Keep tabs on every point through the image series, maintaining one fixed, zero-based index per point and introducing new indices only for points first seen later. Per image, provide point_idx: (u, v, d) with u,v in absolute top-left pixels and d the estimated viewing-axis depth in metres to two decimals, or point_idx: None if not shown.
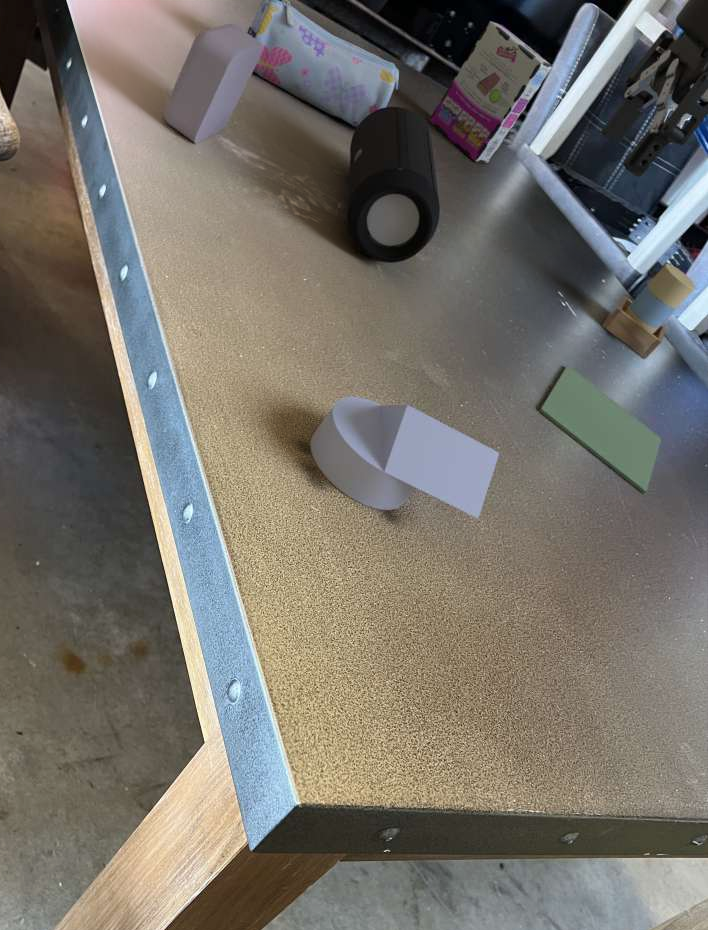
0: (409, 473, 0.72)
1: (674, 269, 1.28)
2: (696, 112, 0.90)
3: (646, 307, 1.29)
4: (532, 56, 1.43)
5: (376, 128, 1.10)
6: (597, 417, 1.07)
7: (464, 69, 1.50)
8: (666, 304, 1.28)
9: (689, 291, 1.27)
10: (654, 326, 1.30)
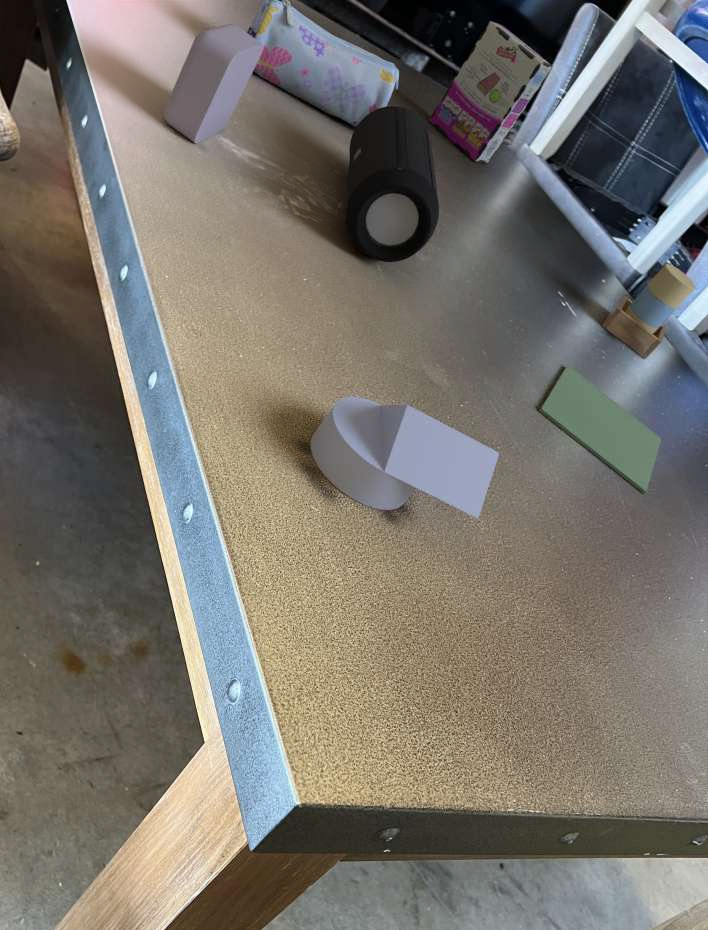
0: (409, 473, 0.72)
1: (674, 269, 1.28)
2: None
3: (646, 307, 1.29)
4: (532, 56, 1.43)
5: (375, 128, 1.10)
6: (597, 417, 1.07)
7: (464, 69, 1.50)
8: (666, 304, 1.28)
9: (689, 291, 1.27)
10: (654, 326, 1.30)
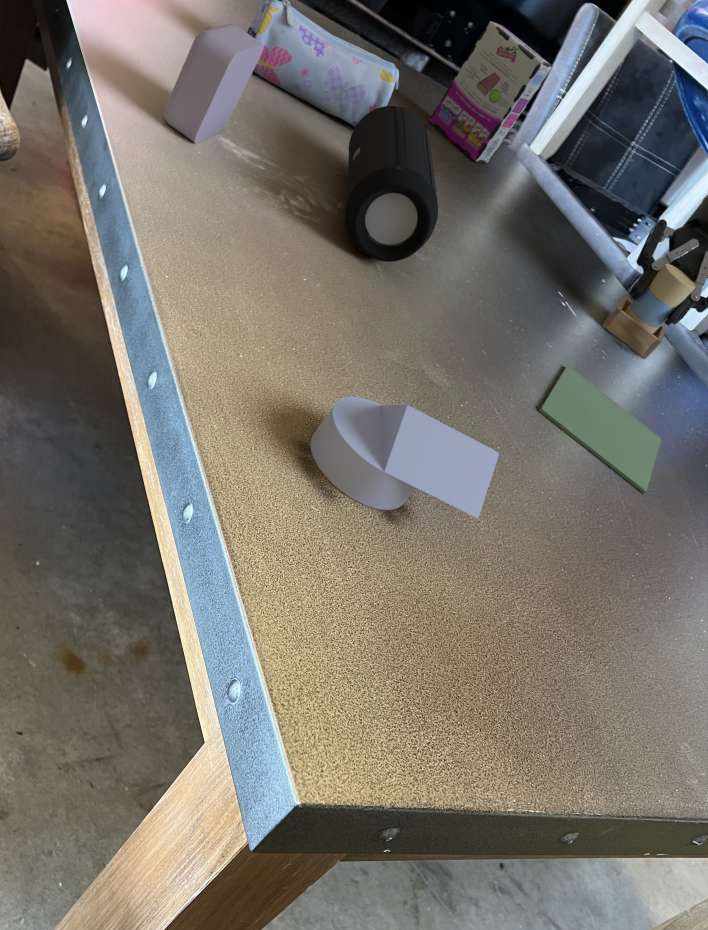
0: (409, 473, 0.72)
1: (674, 269, 1.28)
2: (647, 240, 1.30)
3: (646, 306, 1.29)
4: (532, 56, 1.43)
5: (374, 127, 1.10)
6: (597, 417, 1.07)
7: (464, 69, 1.50)
8: (666, 304, 1.28)
9: (689, 291, 1.27)
10: (654, 326, 1.30)
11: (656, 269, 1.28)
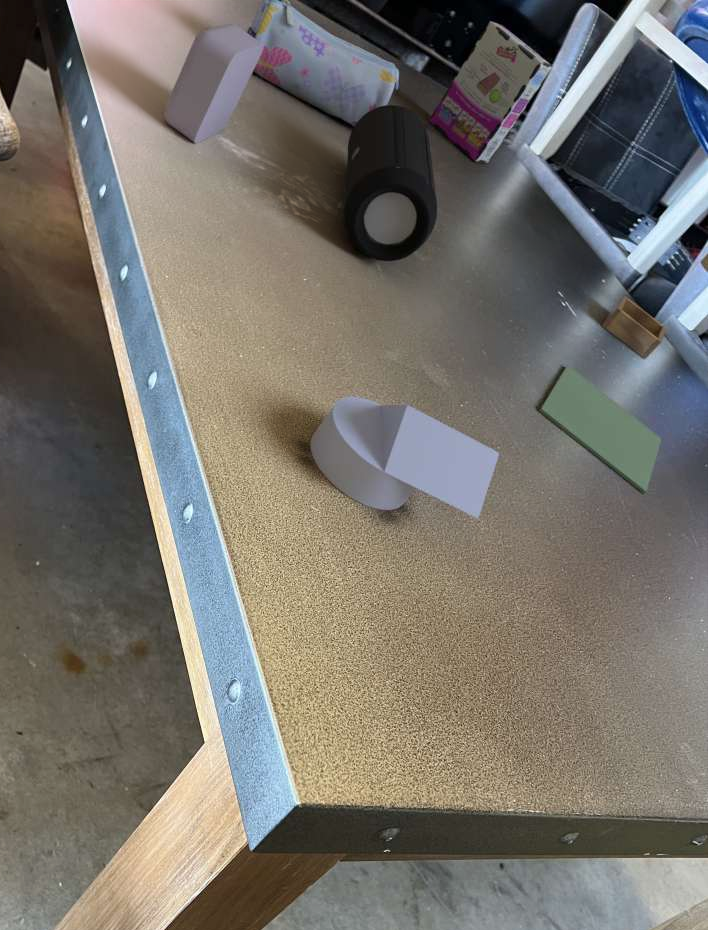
0: (409, 473, 0.72)
1: None
2: None
3: None
4: (532, 56, 1.43)
5: (373, 127, 1.10)
6: (597, 417, 1.07)
7: (464, 69, 1.50)
8: None
9: None
10: None
11: None
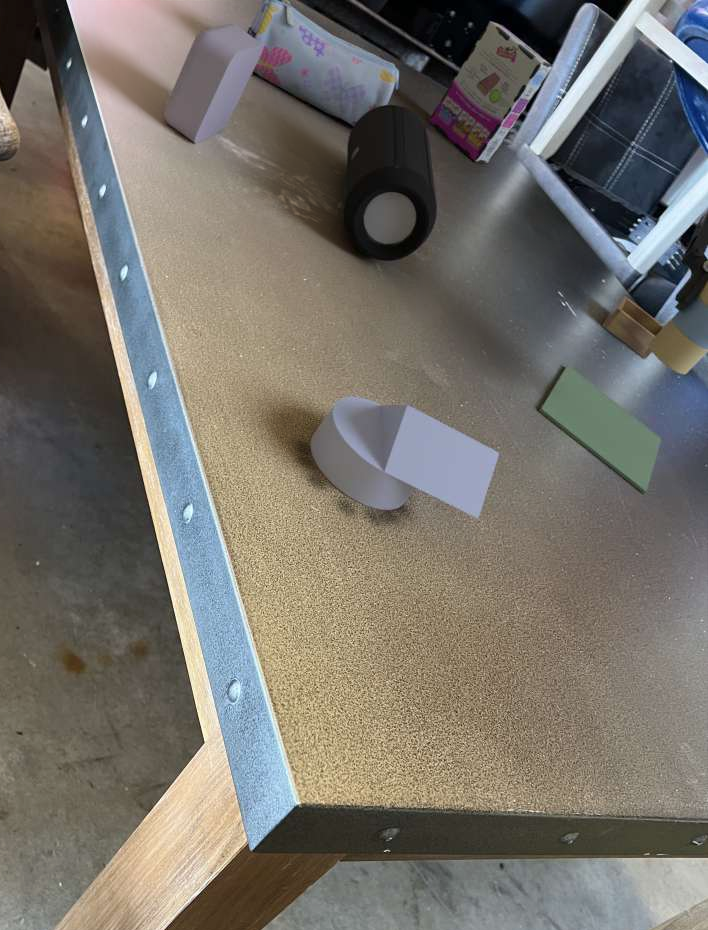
0: (409, 473, 0.72)
1: None
2: (697, 232, 0.97)
3: (695, 321, 0.96)
4: (532, 56, 1.43)
5: (373, 127, 1.10)
6: (597, 417, 1.07)
7: (464, 69, 1.50)
8: None
9: None
10: (706, 347, 0.98)
11: None
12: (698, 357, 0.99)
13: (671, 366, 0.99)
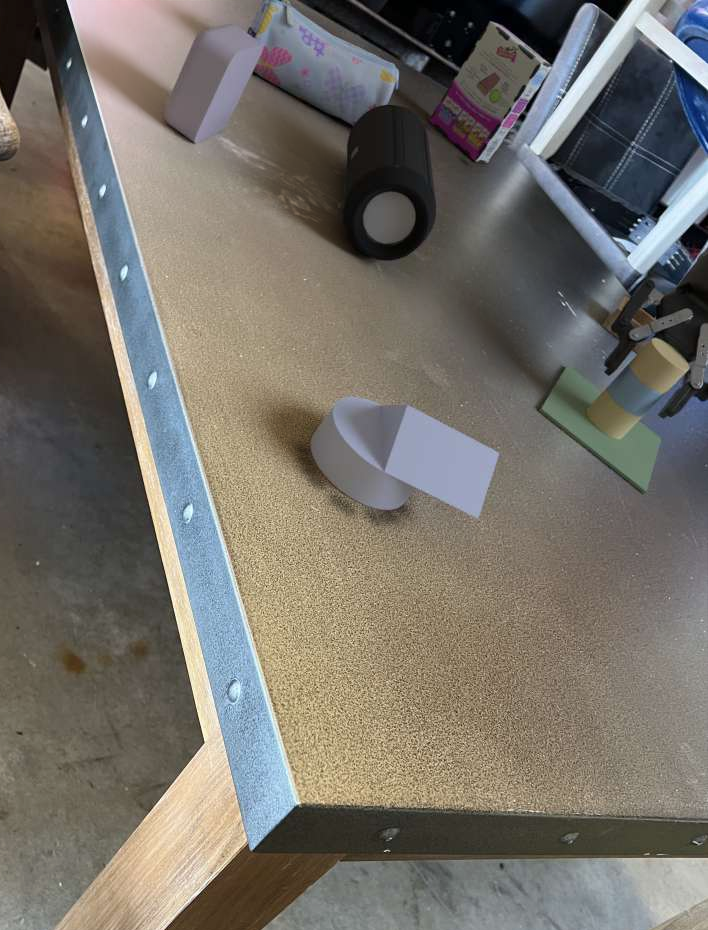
0: (409, 473, 0.72)
1: (662, 345, 1.01)
2: (628, 303, 1.03)
3: (627, 391, 1.02)
4: (532, 56, 1.43)
5: (372, 126, 1.10)
6: None
7: (464, 69, 1.50)
8: (652, 389, 1.01)
9: (681, 373, 1.00)
10: (638, 415, 1.04)
11: (635, 339, 1.02)
12: (631, 424, 1.05)
13: (606, 432, 1.05)
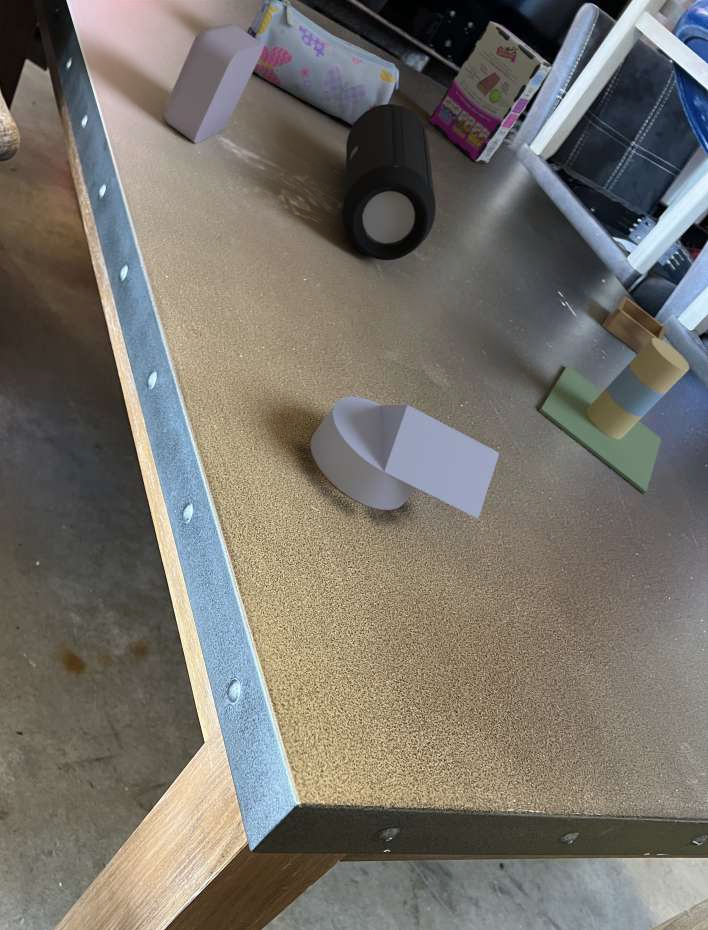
0: (409, 473, 0.72)
1: (662, 345, 1.01)
2: None
3: (627, 391, 1.02)
4: (532, 56, 1.43)
5: (372, 126, 1.10)
6: None
7: (464, 69, 1.50)
8: (652, 389, 1.01)
9: (681, 373, 1.00)
10: (638, 415, 1.04)
11: None
12: (631, 424, 1.05)
13: (606, 432, 1.05)
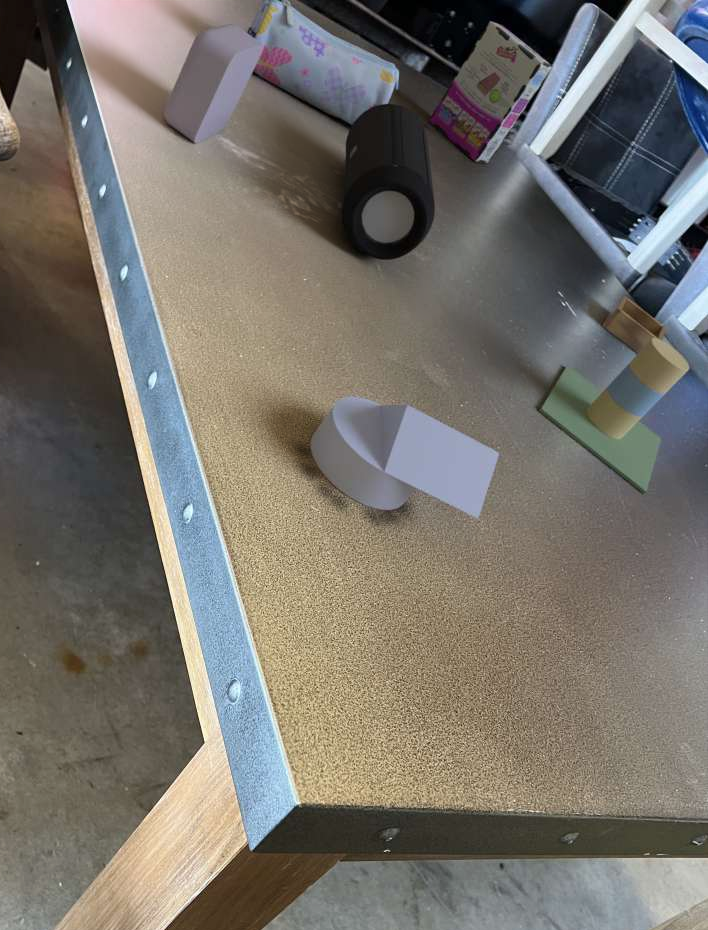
0: (409, 473, 0.72)
1: (662, 345, 1.01)
2: None
3: (627, 391, 1.02)
4: (532, 56, 1.43)
5: (371, 125, 1.10)
6: None
7: (464, 69, 1.50)
8: (652, 389, 1.01)
9: (681, 373, 1.00)
10: (638, 415, 1.04)
11: None
12: (631, 424, 1.05)
13: (606, 432, 1.05)
